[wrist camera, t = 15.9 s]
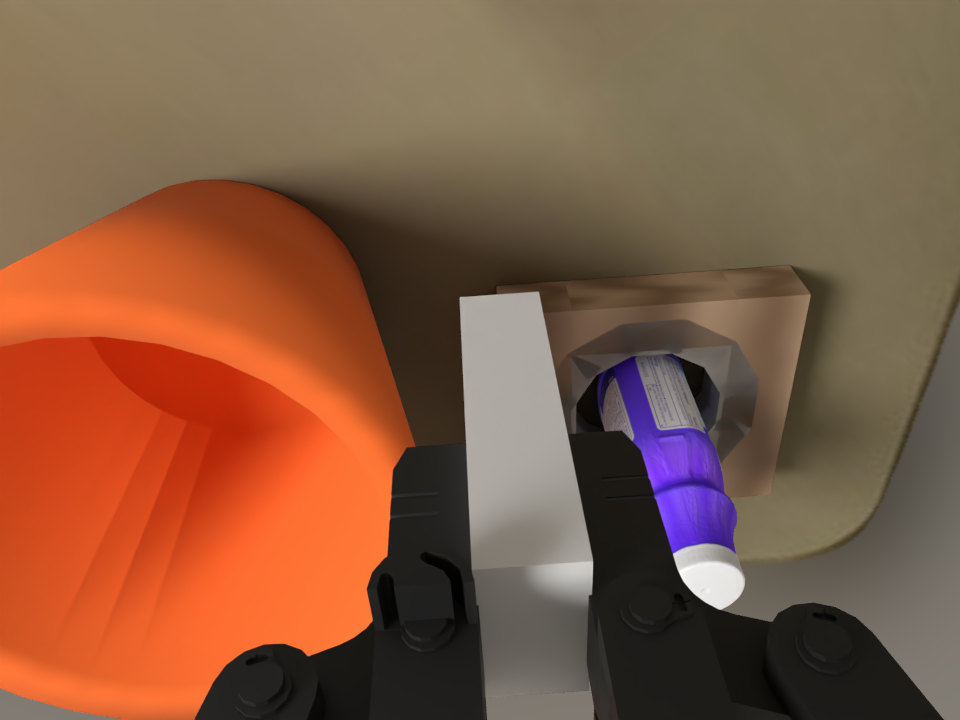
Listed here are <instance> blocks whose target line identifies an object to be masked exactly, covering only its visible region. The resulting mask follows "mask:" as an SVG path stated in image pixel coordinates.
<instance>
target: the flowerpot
mask: <svg viewBox="0 0 960 720" xmlns="http://www.w3.org/2000/svg"><path fill="white" fill-rule="evenodd" d="M407 447H416V446H415V443H414V440H413V437H412V434H411V430H410V427H409V424H408V421H407V418H406V415H405V412H404V409H403V405H402V402H401V399H400V396H399V393H398V390H397V387H396V384H395V381H394V377H393V374H392V371H391V368H390V365H389V362H388V359H387V356H386V352H385V349H384V346H383V343H382V340H381V337H380V334H379V331H378V327H377V324H376V321H375V318H374V315H373V312H372V309H371V306H370V302H369V299H368V296H367V293H366V290H365V287H364V284H363V281H362V278H361V275H360V272H359V269H358V266H357V264H356V263H355V261H354V259H353V258H352V256H351V254H350V252H349V251H348V249H347V247H346V246H345V244H344V243H343V242H342V241H341V240H340V239H339V237H338V236H337V235H336V234H335V233H334V232H333V231H332V229H331V228H330V227H329V226H328V225H327V224H326V223H324V222H323V221H322V220H321V219H319V218H318V217H317V216H316V215H314V214H313V213H312V212H311V211H309V210H308V209H307V208H306V207H304V206H302V205H300V204H298V203H296V202H294V201H293V200H291V199H289V198H287V197H285V196H283V195H282V194H279V193H276V192H274V191H271V190H268V189H265V188H262V187H259V186H256V185H253V184H247V183H241V182H234V181H228V180H195V181H190V182H186V183H181V184H177V185H172V186H168V187H165V188H163V189H161V190H159V191H157V192H154V193H152V194H150V195H148V196H146V197H143V198H141V199H139V200H138V201H136V202H134V203H132V204H130V205H128V206H126V207H124V208H122V209H120V210H118V211H116V212H114V213H112V214H110V215H108V216H106V217H104V218H102V219H100V220H98V221H96V222H94V223H92V224H90V225H88V226H86V227H84V228H82V229H80V230H78V231H77V232H75V233H73V234H71V235H69V236H67V237H65V238H63V239H61V240H59V241H57V242H55V243H53V244H51V245H49V246H47V247H45V248H43V249H41V250H39V251H37V252H35V253H33V254H31V255H29V256H27V257H25V258H23V259H21V260H19V261H17V262H16V263H14V264H12V265H10V266H8V267H6V268H4V269H2V270H0V688H1V689H4V690H6V691H9V692H12V693H14V694H16V695H19V696H22V697H25V698H29V699H32V700H36V701H40V702H43V703H47V704H50V705H54V706H58V707H62V708H65V709H68V710H72V711H78V712H84V713H90V714H95V715H101V716H107V717H113V718H119V719H124V720H194V719H195V717H196V715H197V713H198V711H199V709H200V707H201V705H202V703H203V701H204V699H205V697H206V695H207V693H208V691H209V690H210V688H211V686H212V684H213V682H214V681H215V679H216V678H217V676H218V675H219V674H220V672H221V671H222V670H223V668H224V667H225V666H226V665H227V664H228V663H229V662H231V661H232V660H233V659H235V658H236V657H237V656H239V655H240V654H242V653H243V652H245V651H247V650H250V649H253V648H256V647H258V646H261V645H264V644H287V645H290V646H293V647H295V648H298V649H301V650H302V651H303V652H304V653H305V654H306V655H307V656H311V655H313V654H316V653H319V652H321V651H324V650H327V649H329V648H332V647H335V646H337V645H340V644H342V643H344V642H346V641H348V640H350V639H352V638H354V637H355V636H357V635H358V634H359V633H361V632H362V631H363V630H365V629H366V628H367V627H368V626H369V624H370V623H371V622H372V621H373V618H372V613H371V608H370V604H369V599H368V594H367V586H368V583H369V580H370V577H371V574H372V572H373V571H374V569H375V568H376V567H377V566H378V565H379V564H380V563H381V561H382V560H383V559H384V558H386V557H387V553H388V537H389V521H390V506H391V490H392V474H393V469H394V467H395V466H396V464H397V462H398V461H399V459H400V458H401V456H402V454H403V453H404V451H405V450H406V448H407Z"/></svg>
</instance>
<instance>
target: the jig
mask: <svg viewBox="0 0 960 720" xmlns="http://www.w3.org/2000/svg"><path fill="white" fill-rule="evenodd" d="M496 291H497V295H499V294H513V293H527V292H539V295H540V300H541V305H542V310H543V315H544V320H545V325H546V330H547V335H548V340H549V345H550V350H551V355H552V360H553V365H554V370H555V374H556V379H557V384H558V389H559V394H560V399H561V404H562V409H563V414H564V419H565V424H566V429H567V434H576V433H590V432H604V431H605V430H604V429H602V428H600V427H597V426H595V425H592V424H589V423H587V422H585V420H584V419H583V418H582V416H581V415H580V414H579V412H578V411H577V410H576V403H577V402H578V400H579V399H580V398H581V396H582V395H583V393H584V392H585V391H586V389H587V388H588V386H589V385H590V383H591V382H592V381H593V379H594V378H595V376H596V375H598V374H599V373H601V372H603V371H605V370H607V369H609V368H611V367H613V366H615V365H616V364H618V363H620V362H622V361H624V360H626V359H628V358H630V357H632V356H645V355H659V354H674V355H676V356H678V357H681V358H683V359H685V360H688V361H690V362H692V363H695V364H697V365H700V366H702V367H704V373H703V381H702V389H701V391H700V393H699V394H698V395H697V396H696V397H695V399H694V400H695V403H696V405H697V408H698V410H699V413H700V415H701V417H702V420H703V422H704V425H705V427H706V430H707V432H708V435H709V437H710V440H711V441H712V443H713V445H714V446H715V449H716V451H717V454H718V457H719V460H720V464H721V469H722V474H723V479H724V490H725V494H726V495H727V496H728V497H729V498H730V497H744V496H758V495H770V493H771V488H772V483H773V478H774V473H775V468H776V463H777V458H778V453H779V449H780V444H781V439H782V434H783V429H784V424H785V419H786V414H787V409H788V405H789V400H790V395H791V390H792V385H793V380H794V375H795V370H796V365H797V360H798V356H799V351H800V346H801V341H802V336H803V331H804V326H805V321H806V316H807V312H808V307H809V302H810V297H811V294H810V292H809V291H808V290H807V288H806V287H805V285H804V284H803V283H802V281H801V280H800V279H799V277H798V276H797V275H796V273H795V272H794V271H793V269H792V268H791V266H790V265H787V266H773V267H759V268H744V269H730V270H716V271H702V272H687V273H673V274H659V275H645V276H630V277H616V278H602V279H587V280H573V281H559V282H545V283H530V284H516V285H502V286H496Z"/></svg>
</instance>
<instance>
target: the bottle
mask: <svg viewBox="0 0 960 720" xmlns="http://www.w3.org/2000/svg"><path fill="white" fill-rule="evenodd" d="M597 401H598V408H599V414H600V418H601V421H602V423H603V426H604V430H605V431H618V430H622V431H623V432H624V433H625V434H626V435H627V436H628V437H629V438H630V439H631V440H632V441H633V443H634V444H635V445H636V446H637V447H638V448H639V449H640V450H641V452H642V455H643V459H644V462H645V465H646V468H647V472H648V477H649V479H650V481H651V485H652V488H653V491H654V497H655V499H656V501H657V504H658V507H659V511H660V514H661V517H662V520H663V524H664V527H665V530H666V533H667V537H668V540H669V543H670V546H671V550H672V553H673V556H674V559H675V563H676V566H677V569H678V571H679V573H680V576H681V578H682V580H683V582H684V583H685V584H686V585H687V586H688V588H689V589H690V590H691V591H692V592H693V593H694V594H695V595H696V596H698V597H699V598H700V599H701V600H703V601H704V602H706V603H707V604H709V605H711V606H713V607H715V608H717V609H719V610H721V609H723V608H725V607H727V606H729V605H730V604H732V603H733V602H734V601H735V600H736V599H737V598H738V597H739V596H740V595H741V593H742V591H743V589H744V586H745V578H744V574H743V572H742V569H741V566H740V563H739V559H738V557H737V555H736V552H735V548H734V543H733V533H734V528H735V526H736V523H737V513H736V510H735V507H734V504H733V503H732V501H731V500H730V498H729V497H728V496H727V495H726V494H725V490H724V479H723V474H722V469H721V464H720V460H719V457H718V454H717V451H716V449H715V446H714V445H713V443H712V441H711V440H710V437H709V435H708V432H707V430H706V427H705V425H704V422H703V420H702V417H701V415H700V413H699V410H698V408H697V405H696V403H695V400H694V398H693V395H692V393H691V390H690V388H689V385H688V383H687V380H686V378H685V375H684V371H683V368H682V365H681V363H680V361H679V359H678V358H677V357H676V356H675V355H674V354H659V355H645V356H632V357H630V358H628V359H626V360H624V361H622V362H620V363H618V364H616V365H615V366H613V367H611V368H609V369H607V370H605V371H603V372H601V373H599V377H598V384H597Z"/></svg>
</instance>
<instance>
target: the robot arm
mask: <svg viewBox="0 0 960 720" xmlns="http://www.w3.org/2000/svg"><path fill="white" fill-rule="evenodd" d="M460 319H461V341H462V363H463V385H464V407H465V430H466V443H462V444H448V445H434V446H420V447H407V448H406V450H405V451H404V453H403V454H402V456H401V458H400V459H399V461H398V462H397V464H396V466H395V467H394V469H393V474H392V490H391V506H390V521H389V537H388V553H387V557H386V558H384V559H383V560H382V561H381V563H380V564H379V565H378V566H377V567H376V568H375V569H374V571H373V572H372V574H371V577H370V580H369V583H368V586H367V594H368V599H369V604H370V608H371V613H372V618H373V621H372V622H371V623H370V624H369V626H368V627H367V628H366V629H365V630H363V631H362V632H361V633H359V634H358V635H357V636H355V637H354V638H352V639H350V640H348V641H346V642H344V643H342V644H340V645H337V646H335V647H332V648H329V649H327V650H324V651H321V652H319V653H316V654H313V655H311V656H307V655H306V654H305V653H304V652H303V651H302V650H301V649H298V648H295V647H293V646H290V645H287V644H264V645H261V646H258V647H256V648H253V649H250V650H247V651H245V652H243V653H242V654H240V655H239V656H237V657H236V658H235V659H233V660H232V661H231V662H229V663H228V664H227V665H226V666H225V667H224V668H223V670H222V671H221V672H220V674H219V675H218V676H217V678H216V679H215V681H214V682H213V684H212V686H211V688H210V690H209V691H208V693H207V695H206V697H205V699H204V701H203V703H202V705H201V707H200V709H199V711H198V713H197V715H196V717H195V719H194V720H487V713H486V698H496V697H509V696H523V695H537V694H550V693H565V692H578V691H589V680H590V685H591V691H592V696H593V703H594V720H944V719H943V718H942V717H941V716H940V715H939V713H938V712H937V711H936V710H935V709H934V707H933V706H932V705H931V703H930V702H929V701H928V700H927V699H926V698H925V696H924V695H923V694H922V692H921V691H920V690H919V689H918V688H917V686H916V685H915V684H914V683H913V681H912V680H911V679H910V678H909V677H908V675H907V674H906V673H905V672H904V670H903V669H902V668H901V667H900V666H899V664H898V663H897V662H896V661H895V659H894V658H893V657H892V656H891V655H890V653H889V652H888V651H887V650H886V648H885V647H884V646H883V645H882V644H881V642H880V641H879V640H878V639H877V637H876V636H875V635H874V634H873V633H872V632H871V631H870V630H869V629H868V628H867V627H866V626H865V625H864V624H862V623H861V622H860V621H859V620H858V619H857V618H856V617H853V616H852V615H850V614H848V613H846V612H844V611H842V610H840V609H838V608H836V607H831V606H827V605H822V604H817V603H807V604H798V605H792V606H791V607H789V608H787V609H785V610H783V611H781V612H780V613H778V614H777V616H776V618H775V619H774V621H773V622H768V621H763V620H759V619H754V618H749V617H745V616H740V615H735V614H732V613H729V612H725V611H722V610H719V609H717V608H715V607H713V606H711V605H709V604H707V603H706V602H704V601H703V600H701V599H700V598H699V597H698V596H696V595H695V594H694V593H693V592H692V591H691V590H690V589H689V588H688V586H687V585H686V584H685V583H684V582H683V580H682V578H681V576H680V573H679V571H678V569H677V566H676V563H675V559H674V556H673V553H672V550H671V546H670V543H669V540H668V537H667V533H666V530H665V527H664V524H663V520H662V517H661V514H660V511H659V507H658V504H657V501H656V499H655V497H654V491H653V488H652V485H651V481H650V479H649V477H648V472H647V468H646V465H645V462H644V459H643V455H642V452H641V450H640V449H639V448H638V447H637V446H636V445H635V444H634V443H633V441H632V440H631V439H630V438H629V437H628V436H627V435H626V434H625V433H624V432H623V431H622V430H618V431H604V432H590V433H576V434H567V429H566V424H565V419H564V414H563V409H562V404H561V399H560V394H559V389H558V384H557V379H556V374H555V370H554V365H553V360H552V355H551V350H550V345H549V340H548V335H547V330H546V325H545V320H544V315H543V310H542V305H541V300H540V295H539V292H527V293H513V294H499V295H485V296H470V297H460Z"/></svg>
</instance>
